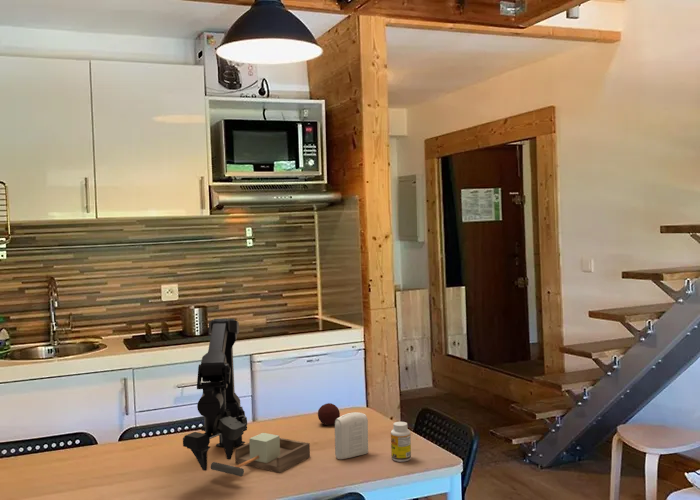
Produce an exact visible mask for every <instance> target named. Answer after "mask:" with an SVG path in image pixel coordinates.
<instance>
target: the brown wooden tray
mask: <svg viewBox="0 0 700 500" xmlns="http://www.w3.org/2000/svg"><path fill="white" fill-rule="evenodd" d="M310 447H311V444H310V443H309V442H303V441H299V440H295V439H294V440H293V439H288V438H283V437H280V456H279V457H277V458H276V459H274V460H272V461H270V462H268V463H263V462H259V461H252V462H250V463H248V464H246V465H245V466H248V467H252V468H256V469H261V470H267V471H271V472H274V473H282V472H284V471H286V470H288V469H290V468H292V467H294V466H296V465H298V464H299V463H301V462H303V461H305V460H307V459H309V458H311V448H310ZM234 456H235V459H234V460H235V463H236V464H237V465H239V464H241V463H243V462H245V461H247V460H250V444H249V442H247V443H246V444H245V443H244V444H242V445H240V446H238V447H235V448H234Z"/></svg>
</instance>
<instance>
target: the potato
mask: <svg viewBox="0 0 700 500" xmlns="http://www.w3.org/2000/svg"><path fill="white" fill-rule="evenodd" d="M340 415H341V412H340V410H339V407H337V406H336V405H335V404H334V403H330V402H327V403H325V404H323V405H321V406H320V407H319V408H318V411H317V418H318V420H319V421H320V423H321V424H323V425H325V426H332V425H335V420H336V419H337V418H339V417H340Z"/></svg>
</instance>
